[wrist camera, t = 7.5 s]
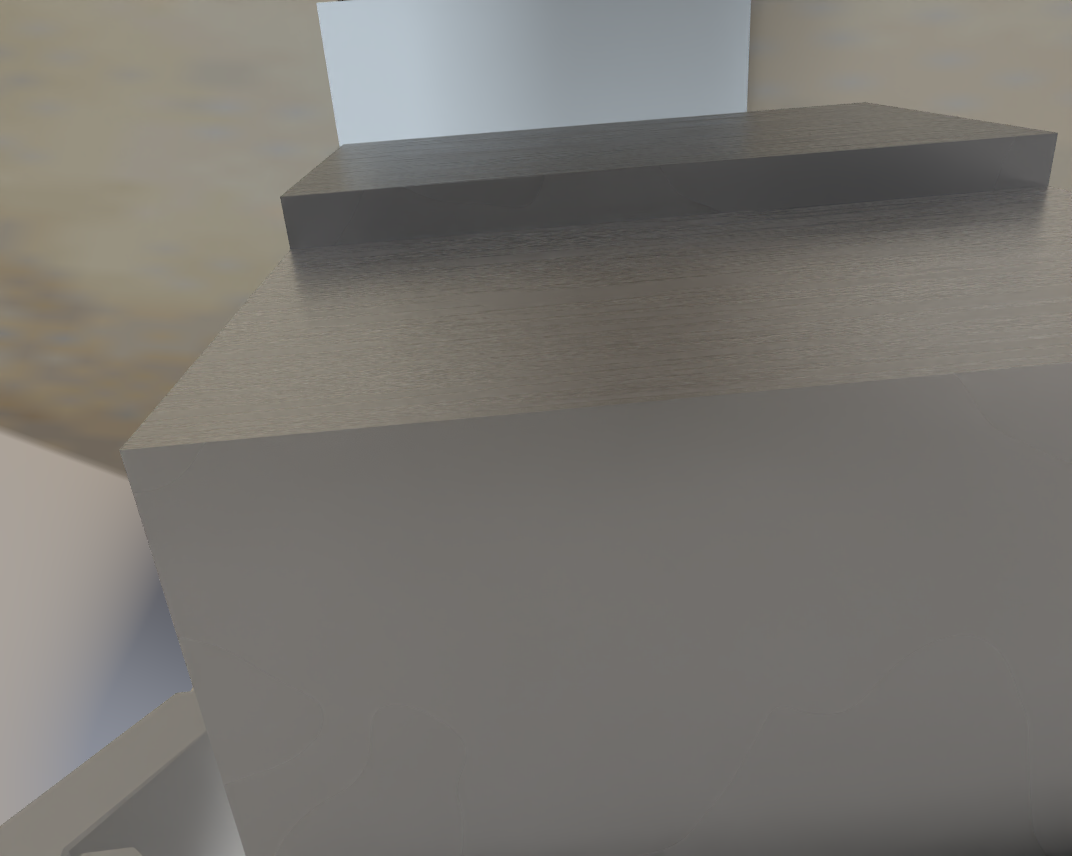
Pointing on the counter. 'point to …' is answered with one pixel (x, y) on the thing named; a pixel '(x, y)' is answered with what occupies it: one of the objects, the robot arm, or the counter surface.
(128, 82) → the counter surface
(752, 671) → the block
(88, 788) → the robot arm
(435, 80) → the stand
